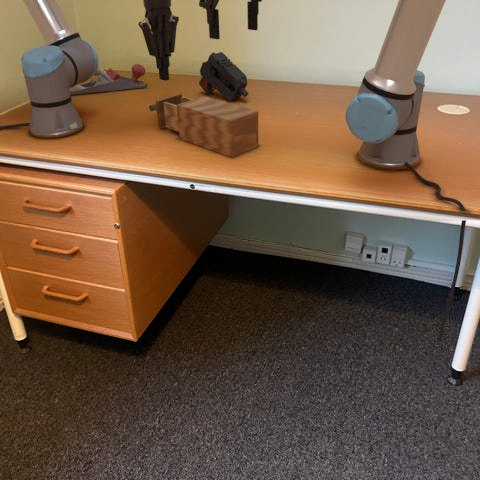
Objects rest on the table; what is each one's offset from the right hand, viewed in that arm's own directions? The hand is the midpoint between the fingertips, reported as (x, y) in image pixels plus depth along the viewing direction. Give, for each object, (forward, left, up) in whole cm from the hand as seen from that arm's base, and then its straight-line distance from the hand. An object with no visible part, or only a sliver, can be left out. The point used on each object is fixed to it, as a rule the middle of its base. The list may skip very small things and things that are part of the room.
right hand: (234, 34), depth 131 cm
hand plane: (+62, +47, -30) cm, 83 cm away
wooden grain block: (+5, +5, -30) cm, 31 cm away
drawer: (+15, +15, -29) cm, 36 cm away
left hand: (+21, +20, -16) cm, 33 cm away
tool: (+48, +3, -30) cm, 56 cm away
